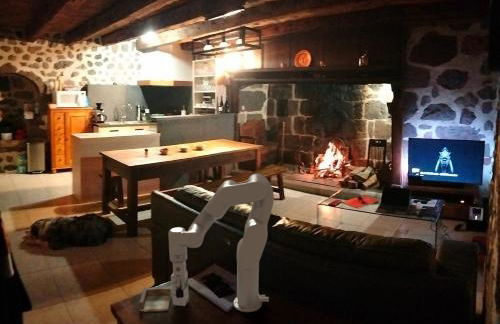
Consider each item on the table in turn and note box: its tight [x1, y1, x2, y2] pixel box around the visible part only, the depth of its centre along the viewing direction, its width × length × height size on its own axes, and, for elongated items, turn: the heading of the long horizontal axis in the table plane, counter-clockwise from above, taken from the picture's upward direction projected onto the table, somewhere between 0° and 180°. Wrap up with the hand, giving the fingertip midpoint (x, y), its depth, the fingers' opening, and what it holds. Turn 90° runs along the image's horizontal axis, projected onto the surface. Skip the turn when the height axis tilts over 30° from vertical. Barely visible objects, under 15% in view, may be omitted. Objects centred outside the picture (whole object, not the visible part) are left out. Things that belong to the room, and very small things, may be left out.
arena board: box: [139, 286, 172, 313], centre depth 181 cm, size 12×12×4 cm
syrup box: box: [170, 269, 190, 307], centre depth 179 cm, size 6×6×14 cm
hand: (180, 292), depth 180 cm, fingers closed on syrup box, 6 cm apart
